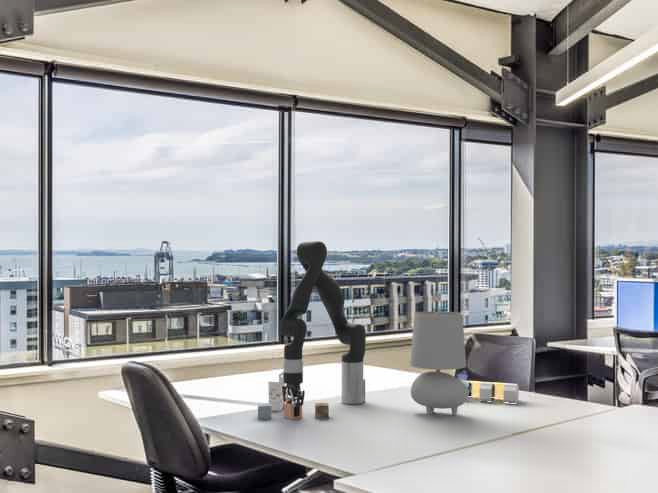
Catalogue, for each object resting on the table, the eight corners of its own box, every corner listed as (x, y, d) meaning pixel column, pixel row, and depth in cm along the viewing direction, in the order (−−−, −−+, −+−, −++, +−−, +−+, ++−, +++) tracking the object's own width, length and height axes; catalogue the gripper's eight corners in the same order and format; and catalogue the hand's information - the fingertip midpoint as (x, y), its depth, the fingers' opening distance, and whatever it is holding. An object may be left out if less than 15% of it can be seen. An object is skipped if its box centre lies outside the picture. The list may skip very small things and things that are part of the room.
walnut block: (327, 415, 281) (327, 402, 282) (328, 418, 276) (328, 405, 277) (315, 415, 281) (315, 403, 281) (315, 418, 276) (315, 405, 276)
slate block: (271, 416, 281) (271, 403, 281) (271, 419, 276) (271, 406, 276) (258, 416, 280) (258, 403, 280) (257, 419, 275) (257, 406, 275)
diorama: (455, 401, 310) (455, 370, 310) (460, 396, 320) (460, 367, 320) (515, 405, 301) (515, 374, 302) (518, 401, 311) (518, 370, 311)
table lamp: (475, 411, 289) (475, 310, 289) (461, 422, 269) (461, 315, 270) (419, 406, 298) (419, 309, 299) (402, 417, 279) (402, 312, 279)
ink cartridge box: (273, 406, 299) (273, 370, 299) (285, 406, 298) (285, 370, 298) (267, 410, 290) (267, 373, 290) (279, 411, 289) (279, 374, 289)
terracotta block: (295, 415, 282) (295, 402, 282) (302, 417, 278) (302, 404, 278) (284, 416, 279) (284, 403, 279) (290, 419, 275) (290, 406, 275)
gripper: (311, 372, 275) (311, 417, 274) (292, 367, 287) (292, 410, 286) (293, 374, 271) (293, 419, 270) (275, 368, 283) (275, 412, 282)
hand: (293, 414), depth 278 cm, fingers closed on terracotta block, 5 cm apart
